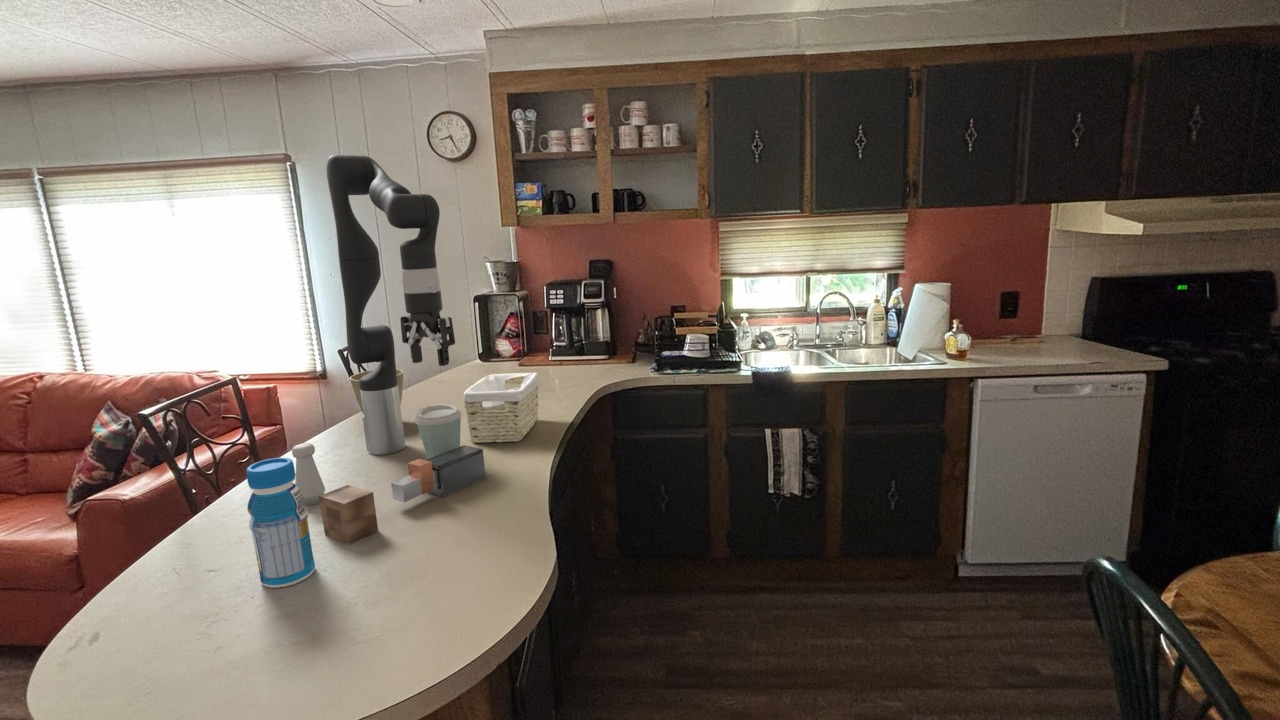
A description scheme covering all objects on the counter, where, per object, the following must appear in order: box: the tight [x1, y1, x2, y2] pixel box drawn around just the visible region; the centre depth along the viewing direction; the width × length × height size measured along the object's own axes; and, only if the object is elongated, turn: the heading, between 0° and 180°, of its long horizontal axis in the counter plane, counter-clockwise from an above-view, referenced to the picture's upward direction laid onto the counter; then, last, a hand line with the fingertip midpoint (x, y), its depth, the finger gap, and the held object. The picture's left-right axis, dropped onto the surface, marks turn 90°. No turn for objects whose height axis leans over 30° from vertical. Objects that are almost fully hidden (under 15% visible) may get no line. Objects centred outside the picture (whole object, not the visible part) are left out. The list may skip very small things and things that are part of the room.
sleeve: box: [426, 444, 486, 498], centre depth 143 cm, size 12×6×7 cm, turn 147°
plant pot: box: [349, 368, 404, 416], centre depth 192 cm, size 15×15×16 cm
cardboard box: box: [319, 484, 379, 545], centre depth 122 cm, size 6×8×8 cm
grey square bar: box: [390, 458, 441, 503], centre depth 139 cm, size 21×4×6 cm, turn 147°
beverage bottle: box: [245, 457, 316, 589], centre depth 106 cm, size 8×8×20 cm
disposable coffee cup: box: [414, 403, 462, 460], centre depth 153 cm, size 11×11×15 cm
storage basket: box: [463, 372, 540, 444], centre depth 181 cm, size 24×16×15 cm
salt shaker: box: [291, 442, 326, 507], centre depth 137 cm, size 6×6×13 cm
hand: (430, 363), depth 140 cm, fingers open, 8 cm apart
